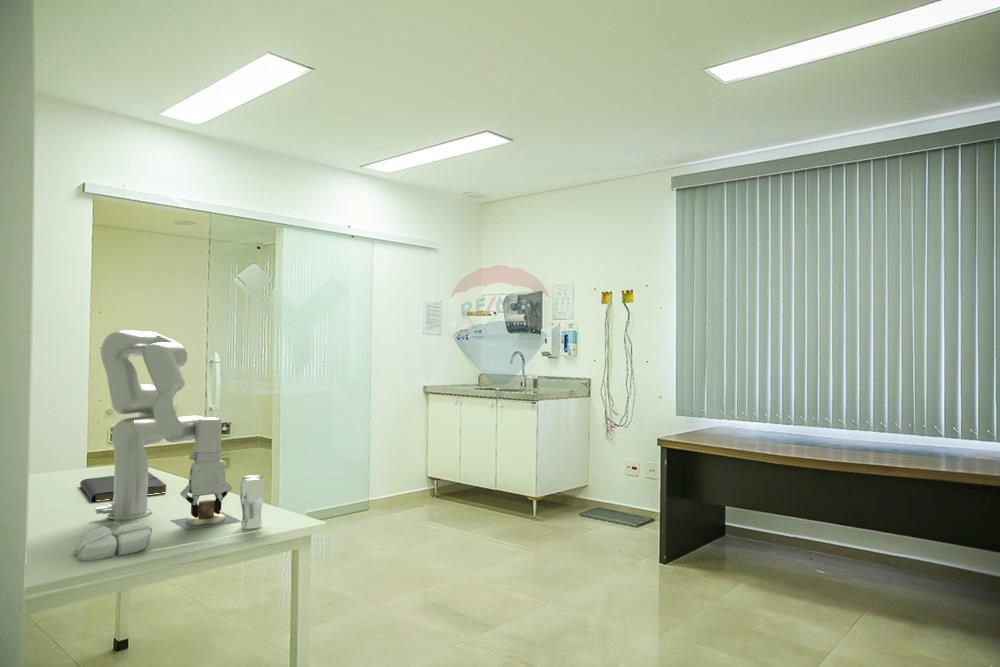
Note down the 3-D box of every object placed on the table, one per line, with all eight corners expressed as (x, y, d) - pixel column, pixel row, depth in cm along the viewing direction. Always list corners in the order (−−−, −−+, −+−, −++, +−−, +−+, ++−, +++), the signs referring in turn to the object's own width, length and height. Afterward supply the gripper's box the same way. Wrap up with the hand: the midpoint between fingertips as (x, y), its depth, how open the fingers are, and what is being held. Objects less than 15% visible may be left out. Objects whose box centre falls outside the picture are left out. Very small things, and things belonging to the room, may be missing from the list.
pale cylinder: (243, 524, 197) (244, 475, 198) (266, 523, 198) (267, 475, 199) (235, 530, 191) (237, 479, 191) (259, 530, 191) (261, 479, 192)
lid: (194, 527, 192) (194, 507, 192) (181, 520, 199) (181, 501, 200) (230, 521, 199) (231, 501, 200) (216, 514, 207) (217, 496, 207)
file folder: (167, 484, 239) (91, 493, 224) (167, 495, 239) (91, 505, 224) (149, 471, 265) (80, 478, 250) (149, 481, 265) (80, 489, 249)
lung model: (76, 563, 159) (71, 548, 179) (154, 553, 169) (140, 539, 189) (78, 536, 160) (72, 524, 180) (155, 527, 170) (141, 517, 190)
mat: (188, 532, 188) (188, 530, 188) (169, 521, 199) (169, 520, 199) (241, 522, 199) (241, 521, 199) (221, 513, 211) (221, 512, 211)
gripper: (182, 461, 191) (181, 522, 191) (239, 455, 203) (238, 512, 203) (174, 458, 197) (172, 517, 196) (230, 453, 209) (229, 508, 208)
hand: (206, 514), depth 199 cm, fingers open, 5 cm apart
